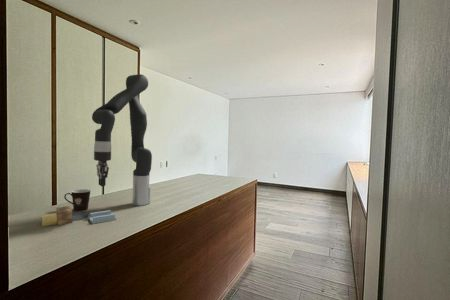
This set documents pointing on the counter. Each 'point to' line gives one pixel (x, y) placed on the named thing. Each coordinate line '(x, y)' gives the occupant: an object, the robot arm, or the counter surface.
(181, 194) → the counter surface
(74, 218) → the drift
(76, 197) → the coffee mug
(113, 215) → the cradle
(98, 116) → the robot arm
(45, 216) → the yellow rectangular block
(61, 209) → the brown wooden block
